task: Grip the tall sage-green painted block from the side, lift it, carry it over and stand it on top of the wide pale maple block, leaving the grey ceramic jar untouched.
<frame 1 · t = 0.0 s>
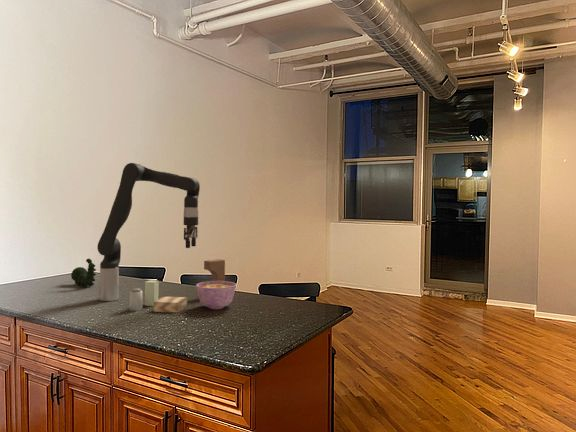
hand: (190, 247, 224), 29 cm above the counter, tool pointing down, fingers open, 8 cm apart
toy figurine: (83, 286, 268), on the counter
decorative block: (214, 295, 244), on the counter
bowl of food: (216, 307, 216), on the counter
ceramic jar: (136, 309, 210), on the counter
sage block: (151, 304, 220), on the counter
maple block: (170, 309, 212), on the counter
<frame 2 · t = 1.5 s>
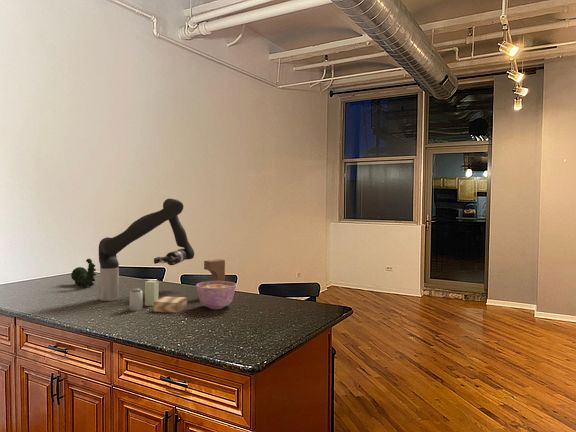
hand: (162, 262, 232), 20 cm above the counter, tool horizontal, fingers open, 8 cm apart
nothing on the counter moved.
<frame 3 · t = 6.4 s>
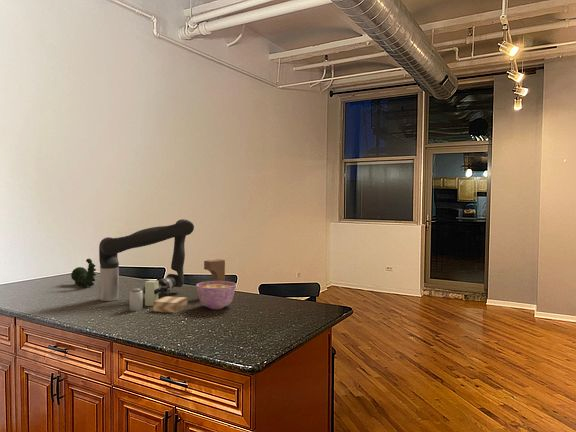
hand: (149, 291, 217), 7 cm above the counter, tool horizontal, fingers closed on sage block, 5 cm apart
sage block: (151, 304, 220), on the counter, touching gripper
everything else where it was.
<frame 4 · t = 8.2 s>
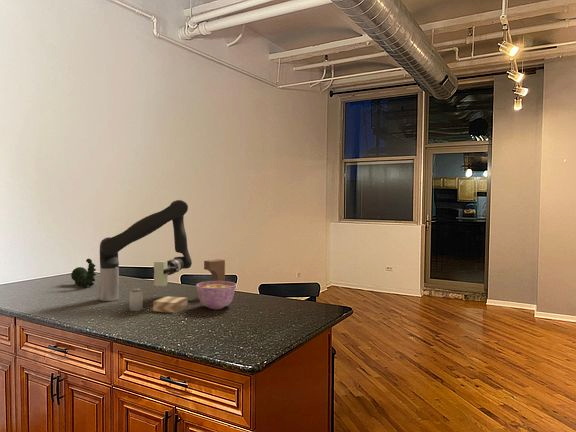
hand: (158, 271, 214), 18 cm above the counter, tool horizontal, fingers closed on sage block, 5 cm apart
sage block: (160, 284, 217), point 11 cm above the counter, touching gripper
everything else where it was.
when the fingers open (13 cm above the counter, at t = 10.1 s): sage block drops 1 cm, resting on maple block.
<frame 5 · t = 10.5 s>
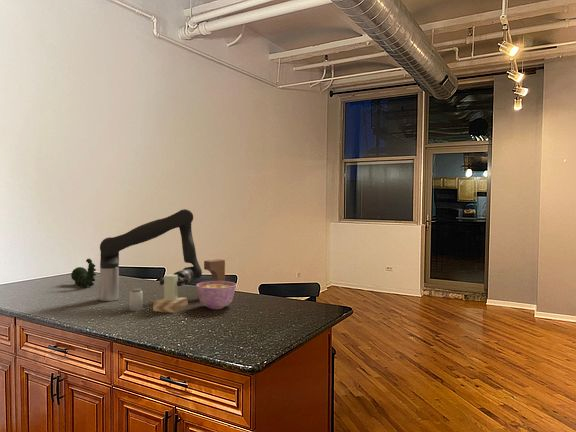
hand: (169, 283, 209), 13 cm above the counter, tool horizontal, fingers open, 8 cm apart
sage block: (170, 299, 212), point 5 cm above the counter, touching maple block
maple block: (170, 309, 212), on the counter, touching sage block
everything else where it was.
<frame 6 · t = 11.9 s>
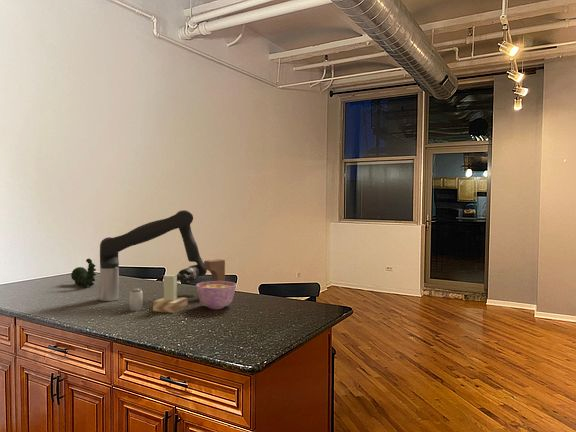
hand: (175, 280, 217), 13 cm above the counter, tool horizontal, fingers open, 8 cm apart
sage block: (170, 299, 212), point 5 cm above the counter
maple block: (170, 309, 212), on the counter
everything else where it was.
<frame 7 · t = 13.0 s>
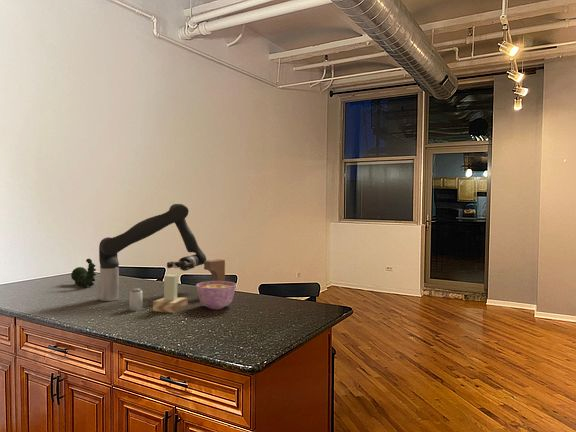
hand: (176, 266, 226), 19 cm above the counter, tool horizontal, fingers open, 8 cm apart
sage block: (170, 299, 211), point 5 cm above the counter, touching maple block
maple block: (170, 309, 212), on the counter, touching sage block
everything else where it was.
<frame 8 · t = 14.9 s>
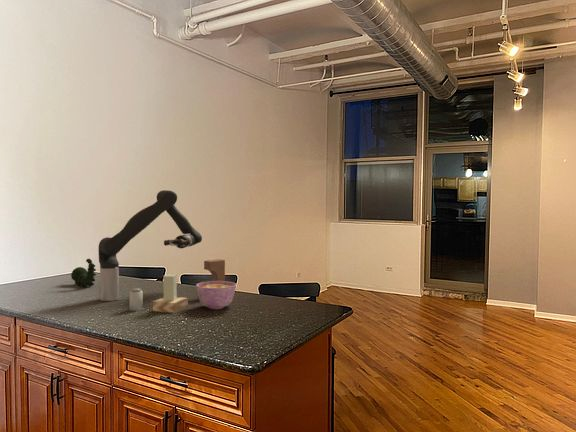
hand: (172, 243, 234), 30 cm above the counter, tool horizontal, fingers open, 8 cm apart
nothing on the counter moved.
at the end: sage block inside the target area on the maple block (0.3 cm from its centre), point 5.0 cm above the maple block's base; sage block tilted 1°; the gripper is holding nothing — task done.
